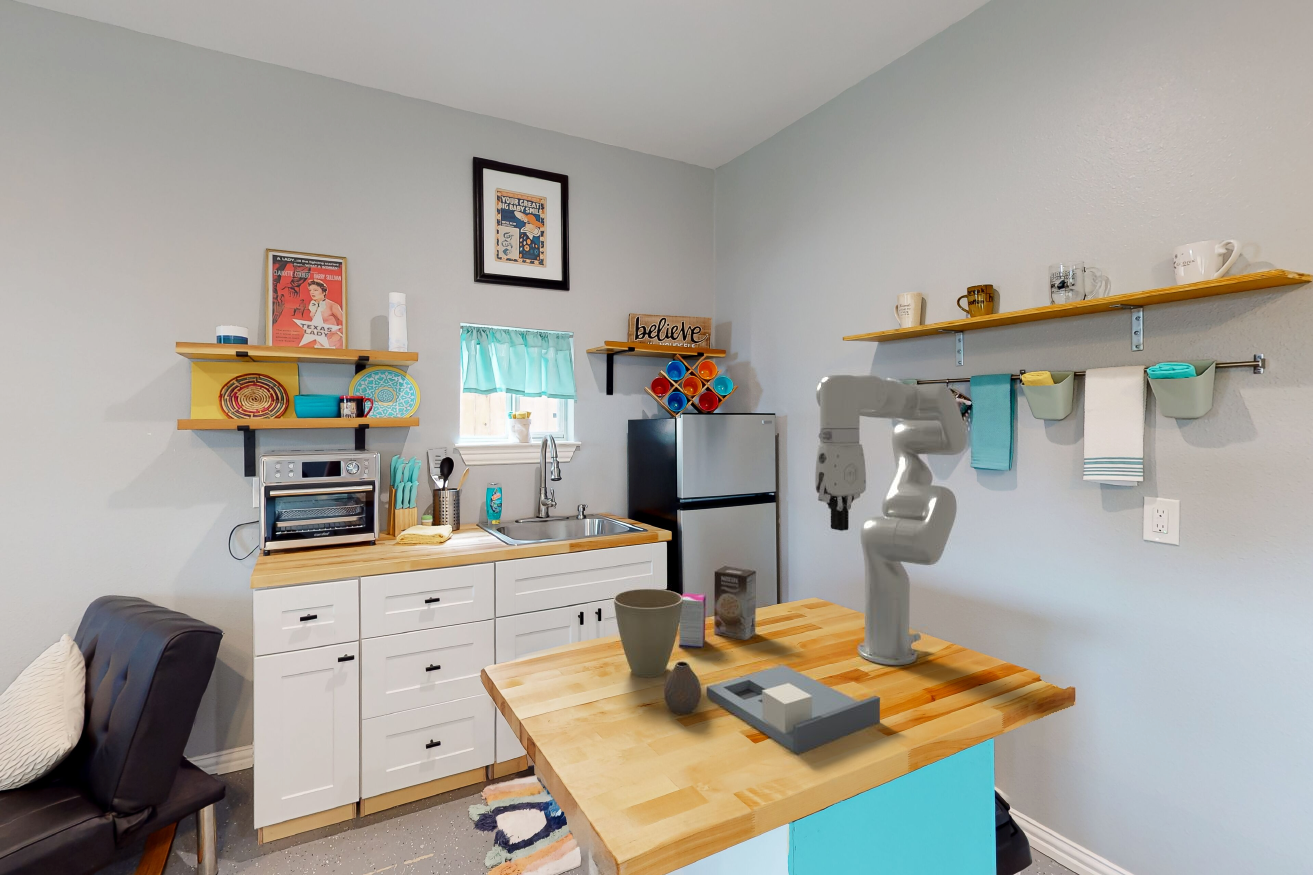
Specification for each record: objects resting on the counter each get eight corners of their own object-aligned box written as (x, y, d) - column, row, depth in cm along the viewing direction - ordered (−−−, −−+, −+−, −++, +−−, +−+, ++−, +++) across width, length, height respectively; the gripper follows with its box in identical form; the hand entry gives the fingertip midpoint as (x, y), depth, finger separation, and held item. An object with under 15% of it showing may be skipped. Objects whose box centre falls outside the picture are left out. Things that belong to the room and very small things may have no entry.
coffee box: (712, 634, 159) (712, 570, 158) (724, 626, 164) (723, 565, 164) (746, 640, 154) (746, 575, 154) (757, 632, 160) (756, 569, 159)
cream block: (788, 710, 114) (788, 682, 113) (812, 724, 108) (812, 695, 108) (762, 718, 111) (762, 690, 110) (784, 733, 105) (784, 703, 105)
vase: (675, 721, 114) (675, 673, 114) (657, 706, 120) (657, 660, 120) (708, 713, 117) (707, 666, 117) (689, 698, 123) (688, 654, 123)
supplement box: (703, 648, 149) (702, 600, 149) (678, 647, 150) (678, 599, 150) (706, 640, 155) (706, 593, 154) (682, 638, 156) (682, 592, 156)
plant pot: (663, 690, 127) (662, 612, 126) (601, 676, 134) (600, 602, 133) (694, 664, 140) (694, 593, 139) (636, 652, 147) (635, 584, 146)
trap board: (782, 673, 134) (782, 652, 134) (879, 722, 113) (879, 697, 113) (706, 696, 124) (706, 673, 124) (797, 754, 103) (797, 727, 102)
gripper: (827, 439, 119) (827, 536, 119) (880, 437, 126) (879, 528, 127) (798, 438, 125) (798, 530, 126) (850, 436, 133) (850, 523, 133)
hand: (839, 529), depth 126 cm, fingers closed
